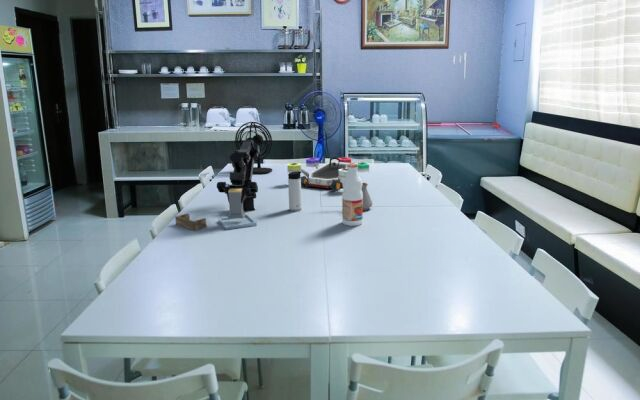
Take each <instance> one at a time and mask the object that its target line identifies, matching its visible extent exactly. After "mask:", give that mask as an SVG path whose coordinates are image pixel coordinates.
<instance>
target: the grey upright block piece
mask: <svg viewBox="0 0 640 400" xmlns="http://www.w3.org/2000/svg"><path fill="white" fill-rule="evenodd" d="M228 192H229V202H228V206H229V213H228V214H227V217H228V218H244V216H245V215H247V214H246V213H247V212H246V211H243V203H241V198H242V189H230V190H229V191H228Z"/></svg>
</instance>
